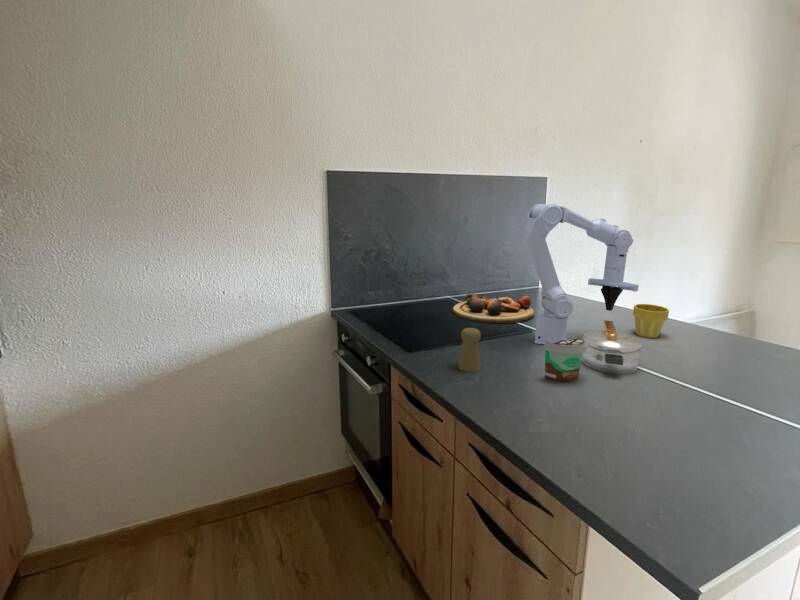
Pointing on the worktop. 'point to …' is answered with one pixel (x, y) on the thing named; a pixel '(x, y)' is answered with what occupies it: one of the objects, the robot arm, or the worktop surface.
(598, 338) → the lid
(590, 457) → the worktop surface
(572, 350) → the food container
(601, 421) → the worktop surface
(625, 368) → the cooker pot
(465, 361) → the cork
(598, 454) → the worktop surface
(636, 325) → the plant pot
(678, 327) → the worktop surface
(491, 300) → the wooden plate with food
